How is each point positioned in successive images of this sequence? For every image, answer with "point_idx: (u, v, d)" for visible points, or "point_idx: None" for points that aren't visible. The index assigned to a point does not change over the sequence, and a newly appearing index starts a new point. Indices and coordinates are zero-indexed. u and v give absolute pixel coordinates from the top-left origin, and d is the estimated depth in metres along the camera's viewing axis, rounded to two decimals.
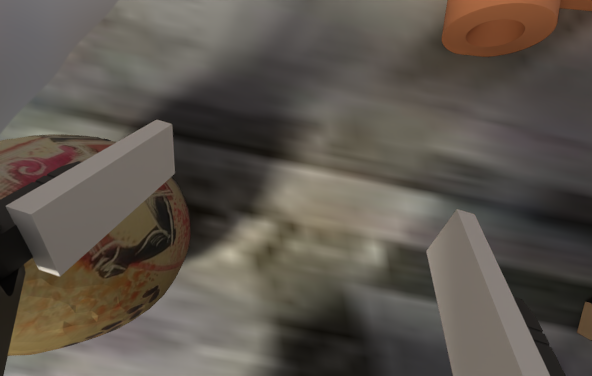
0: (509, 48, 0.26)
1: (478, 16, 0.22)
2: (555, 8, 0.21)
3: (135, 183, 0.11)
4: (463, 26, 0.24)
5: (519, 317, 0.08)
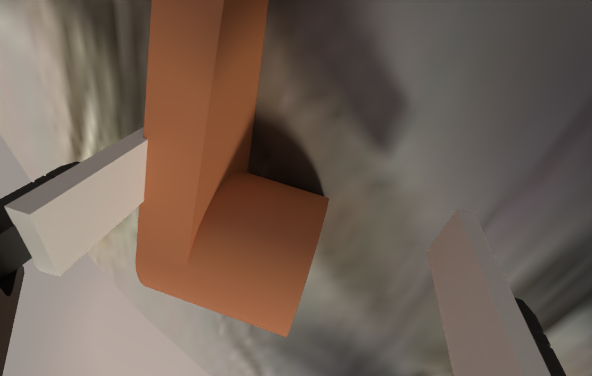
0: None
1: None
2: (296, 279, 0.13)
3: (134, 183, 0.11)
4: None
5: (520, 318, 0.08)
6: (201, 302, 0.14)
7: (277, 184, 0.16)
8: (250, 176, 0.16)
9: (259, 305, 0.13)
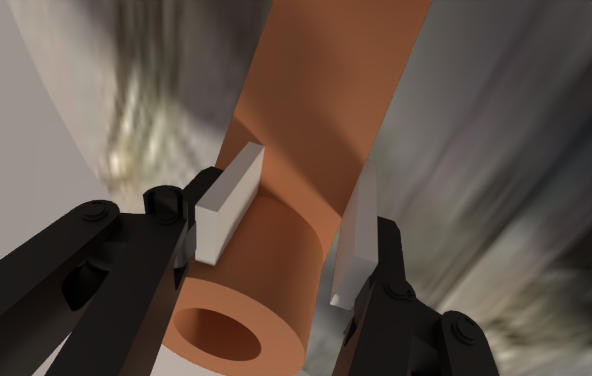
0: (263, 323, 0.11)
1: (177, 345, 0.14)
2: None
3: (252, 185, 0.13)
4: (202, 358, 0.14)
5: (374, 224, 0.10)
6: None
7: (278, 243, 0.13)
8: (285, 219, 0.14)
9: None
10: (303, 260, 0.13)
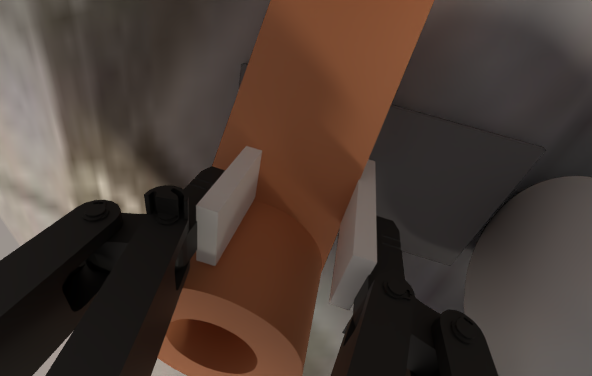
0: (259, 335, 0.11)
1: (170, 357, 0.14)
2: None
3: (253, 185, 0.13)
4: (196, 370, 0.14)
5: (373, 224, 0.10)
6: None
7: (275, 250, 0.12)
8: (282, 225, 0.13)
9: None
10: (301, 268, 0.13)
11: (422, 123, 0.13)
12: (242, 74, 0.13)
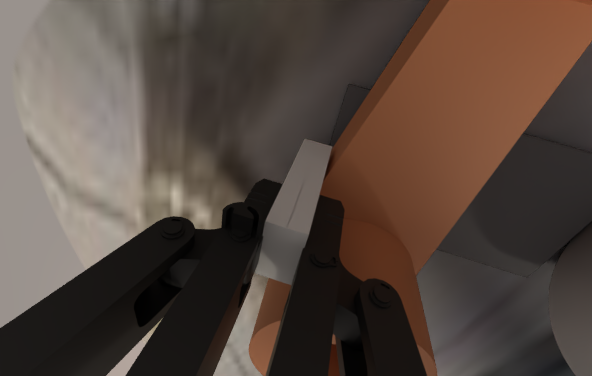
0: None
1: None
2: (278, 312, 0.11)
3: None
4: None
5: (314, 201, 0.10)
6: None
7: (395, 271, 0.13)
8: (390, 244, 0.14)
9: (262, 302, 0.13)
10: (415, 286, 0.13)
11: (525, 143, 0.13)
12: (347, 94, 0.14)
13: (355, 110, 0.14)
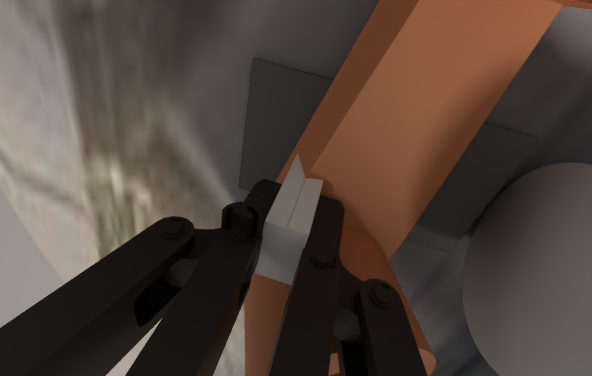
0: None
1: None
2: None
3: None
4: None
5: (314, 201, 0.10)
6: None
7: (381, 275, 0.12)
8: (367, 246, 0.13)
9: (249, 344, 0.12)
10: (397, 283, 0.13)
11: None
12: (253, 68, 0.14)
13: (263, 84, 0.15)
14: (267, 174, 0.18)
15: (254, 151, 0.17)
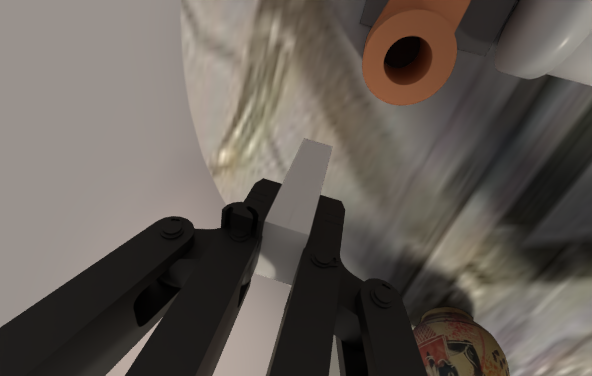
0: (441, 38, 0.24)
1: (375, 80, 0.27)
2: (384, 21, 0.25)
3: None
4: (387, 90, 0.27)
5: (314, 201, 0.10)
6: None
7: None
8: None
9: (369, 38, 0.27)
10: None
11: None
12: None
13: None
14: (380, 10, 0.31)
15: None
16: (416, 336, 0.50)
